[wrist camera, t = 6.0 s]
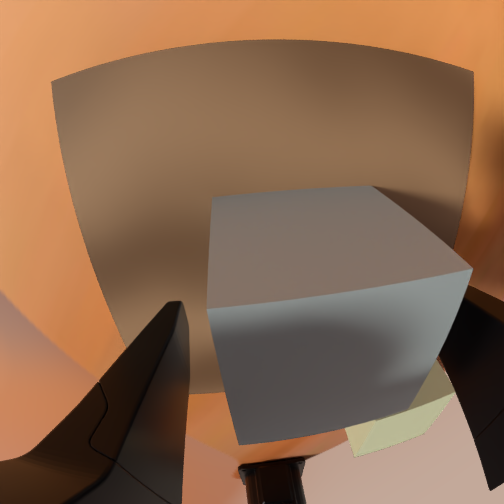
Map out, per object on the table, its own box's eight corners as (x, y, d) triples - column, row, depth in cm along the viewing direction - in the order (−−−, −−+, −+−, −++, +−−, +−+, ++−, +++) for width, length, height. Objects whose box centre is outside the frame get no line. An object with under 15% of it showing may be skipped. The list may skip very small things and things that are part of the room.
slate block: (355, 307, 12) (408, 409, 7) (229, 324, 11) (239, 445, 7) (370, 185, 9) (473, 268, 5) (212, 197, 9) (206, 308, 4)
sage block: (397, 379, 19) (423, 433, 14) (334, 395, 18) (354, 457, 14) (418, 331, 16) (456, 391, 12) (345, 348, 16) (375, 421, 12)
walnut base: (401, 331, 16) (416, 355, 14) (155, 365, 15) (150, 395, 13) (441, 69, 9) (473, 71, 7) (78, 81, 8) (51, 81, 6)
